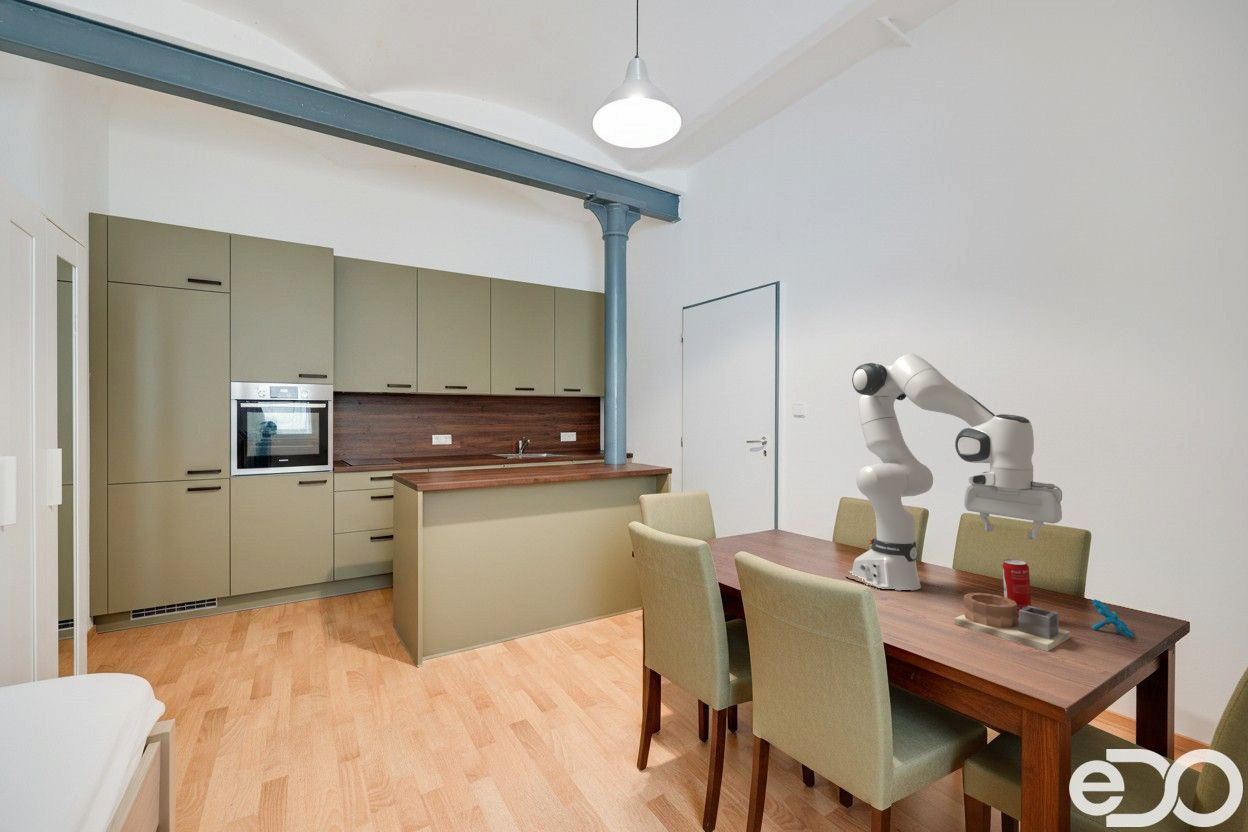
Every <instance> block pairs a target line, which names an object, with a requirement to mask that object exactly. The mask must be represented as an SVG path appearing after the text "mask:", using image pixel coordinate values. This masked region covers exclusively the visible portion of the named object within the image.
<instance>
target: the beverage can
mask: <svg viewBox="0 0 1248 832" xmlns="http://www.w3.org/2000/svg"><path fill="white" fill-rule="evenodd" d="M1002 578H1003V579H1002V580H1003V581H1002V582H1003V597H1006V598H1009V599H1011V600H1013V601H1015V602H1016V604H1017V618H1019V610H1021V609H1023V608H1025V607H1027V606H1032V597H1031V596H1032V595H1031V580H1030V567H1029V565H1028V562H1027V561H1026V560H1022V559H1017V558H1006V559H1004V560H1003V564H1002Z"/></svg>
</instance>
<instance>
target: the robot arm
mask: <svg viewBox="0 0 1248 832" xmlns="http://www.w3.org/2000/svg"><path fill="white" fill-rule="evenodd" d="M851 383H852V386H853V389H854V390H855V392H856V393H858V394H860V395H861V396H860V398H859V399H858V415H859V420H860V425H861V429H862V434H863V436H864V437H863V438H864V441H865V444H866V447H867V449H868V450H869V452H871V453H872V454H874V455H876V456H877V457H878V458H879V460H881V463H879V462H878V463H877V462H876V463H872V464H869V465H868V464H867V465H866V466H865V465H864V467H863V466H862V467H861V468H860V469H859V470H858V472H857V474H856V478H855V479H856V485H857V488H858V490H859V491H860V493H861V494H862V495H864V496H865V497H866V498H867V499H868V501H869V503H870V504H871V506H872V508H873V512H874V516H875V530H876V531H875V533H876V534H875V535H876V537H875V538H873V539H870V540H869V542H868V545H870V544H871V548H870V549H868V550H867V551H866V552H863V553H862V554H860V555H859V556H856V558H854V561H853V563H852V570H850V571H848V572H850V573H852V575H855V576H858V577H859V578H862V581H863V579H864V580H865V582H867V583H870V584H871V585H872V584H873V585H874V586H876V587H878V588H882V589H895V590H894V591H901V590H911V591H917V590H920V589H921V588H922V585H921V582H920V578H919V575H918V570H917V569H918V568H917V562H916V561H917V554H918V553H917V542H916V541H915V538H916V537H915V536H916V535H915V534H916V533H915V532H916V531H915V530H916V528H915V527H916V526H915V525H916V524H915V523H916V522H915V521H916V520H915V518H914V516H913V514H912V513H910V511H908V510H906V509H905V508H904V505H903V503H902V497H915V496H919V495H923V494H925V493H927V492H928V491H930V490H931V489H932V487H933V485H934V476H933V473H932V471H931V470H930V468H929V467H928V466H926V464H923V463H922V462H921V461H919V460H918V459H917V457H916V456H915V455H914V454H913V453H912V452H911V450H910V449H909V447H908V445H907V443H906V441H905V439H904V437H903V433H902V431H901V427H900V424H899V421H898V418H897V413H896V411H895V407H894V405H895V401H896V400H897V401H903V400H905V399H906V398H908V399H909V400H910V401H911V403H913V404H914V405H916V406H917V407H918V408H920V409H922V410H925V411H929V412H936V413H940V414H941V413H942V414H946V415H949V416H954V417H956V418H958V419H961V420H963V421H964V422H966V423H967V424H968V425H969V426H970V427H965V428H963V429H962V430H960V431H959V433H957V435H956V438H955V442H954V444H955V445H954V447H955V451H956V453H957V455H958V456H959V458H960V459H962V460H963V461H965V462H968V463H973V464H974V463H975V464H990V465H989V468H990V469H989V471H984V472H983V471H982V472H981V473H976V474H972V475H969V476H968V479H967V480H968V483H969V484H968V486H967V487H966V489H965V494H964V501H963V503H964V505H963V506H964V508H965V509H966V511H968V512H972V513H973V512H974V513H978V514H979V518H980V520H981V521H982V523H983V524H984V531H985V532H990V533H991V532H994V531H995V528H994V527H995V524H993V523H991V522H990V520H989V517H990V515H994V516H1000V517H1007V518H1014V519H1019V520H1020V519H1021V520H1025V521H1027V520H1028V521H1032V524H1033V526H1034V528H1033V529H1032V530H1028V531H1027V539H1031V540H1038V537H1039V535H1038V532H1040V530H1041V529H1042V527H1044V523H1047V524H1057V523H1060V521H1062V520H1063V510H1062V505H1061V502H1062V500H1063V491H1062V489H1061V488H1060V486H1059V487H1058V486H1057V485H1055V484H1054V483H1045V482H1039V481H1038V482H1037V481H1034V465H1033V461H1032V459H1033V454H1034V451H1035V445H1034V444H1035V443H1034V442H1035V438H1034V431H1033V426H1032V423H1031V421H1030V419H1028V418H1026V417H1024V416H1020V415H1015V414H1006V413H1005V414H1003V413H1002V414H995V413H993V412H992V411H991V410H990V409H988V408H987V407H985V405H983V404H982V403H981V402H980V401H978V400H977V399H976V398H974V397H973V396H971V395H970V394H968V393H967V392H965V391H964V390H963V389H961V388H959V387H958V386H956V385H955V384H954V383H953V382H951V381H950V380H949V379H948V378H946V376H945V375H943V374H942V373H941V372H940V371H938V369H936V367H935V366H933V365H932V364H931V363H929V362H928V361H927V360H926V359H924V358H923V357H921V356H919V355H917V354H915V353H914V354H913V353H906V354H903V355H902V356H900V357H898V358H897V359H896V360H895V361H884V362H867V363H864V364H861V365H858V366H856V369H855V370H854V371H853V373H852V379H851ZM865 586H868V584H866V585H865Z"/></svg>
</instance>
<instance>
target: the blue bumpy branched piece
mask: <svg viewBox="0 0 1248 832" xmlns="http://www.w3.org/2000/svg"><path fill="white" fill-rule="evenodd" d="M1091 602H1092V603H1093V604H1092V605H1093V607H1094V608H1096V609H1097V612H1098V613H1099V614H1100V615H1102V616H1103V617H1104V618H1102V620H1101V621H1100V622H1098V623H1096V624H1094V625H1093V626H1091V628H1092V629H1093V630H1094V631H1098V630H1099V629H1102V628H1103V627H1104V626H1106V625H1108V626H1110V625H1111V624H1112V625H1114V630H1115V629H1116V631H1118V632H1119V633H1120V632H1121V633H1122V635H1123V636H1124V637H1126V638H1129V637H1131V638H1133V637H1134V635H1133V631H1132V630H1131V629H1130V628H1128V625H1127V624H1126V623H1125V622H1124V621H1123V620H1121V619H1120V617H1119V616H1118V614H1117V612H1115V610H1114V611H1111V608H1110V607H1108V606H1107V604H1105V605H1104V603H1103V602H1102V601H1100V600H1099V599H1098V600H1097V599H1093V600H1092V601H1091Z"/></svg>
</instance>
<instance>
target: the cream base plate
mask: <svg viewBox="0 0 1248 832" xmlns="http://www.w3.org/2000/svg"><path fill="white" fill-rule="evenodd" d="M1059 620H1060V619H1059V612H1056V611H1052V610H1049V609H1044V608H1040V607H1035V606H1032V605H1031V606H1027V607H1025V608H1023V609H1021V610H1019V618H1017V604H1016V602H1015V601H1013V600H1011V599H1009V598H1006V597H1004V596H1002V595H998V594H993V593H992V594H991V593H984V592H968V593H966V594H964V595H963V614H961V615H959V616H957V617H954V620H953V622H954V625H957V626H960V627H962V628H963V627H964V628H967V629H970V630H974V631H978V632H979V633H984V634H986V635H987V634H988V635H990V636H994V637H998V638H1002V639H1004V640H1008V641H1011V642H1014V643H1018V644H1020V645H1021V644H1022V645H1023V646H1024V645H1025V646H1029V647H1032V648H1035V649H1038V650H1042V651H1045V652H1048V651H1050V650H1053V649H1054V648H1056V647H1057V646H1059V645H1060V644H1062V643H1063V642H1064V643H1065V642H1066V641H1067V640H1068V639H1070V638H1071V632H1070V631H1069V630H1065V629H1062V628H1059V623H1060V622H1059Z"/></svg>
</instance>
